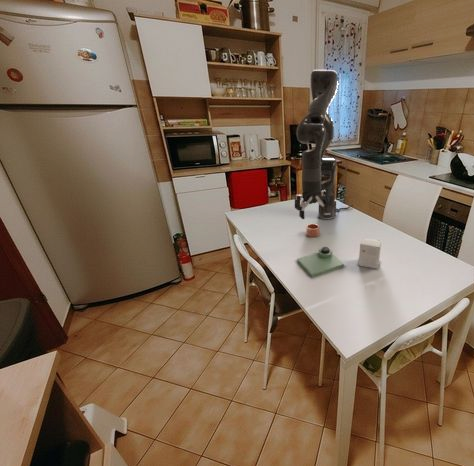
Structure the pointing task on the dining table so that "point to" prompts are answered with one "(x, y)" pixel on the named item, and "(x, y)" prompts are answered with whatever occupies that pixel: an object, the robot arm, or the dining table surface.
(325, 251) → the tare button
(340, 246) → the dining table surface
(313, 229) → the bowl
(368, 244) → the small box
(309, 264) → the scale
